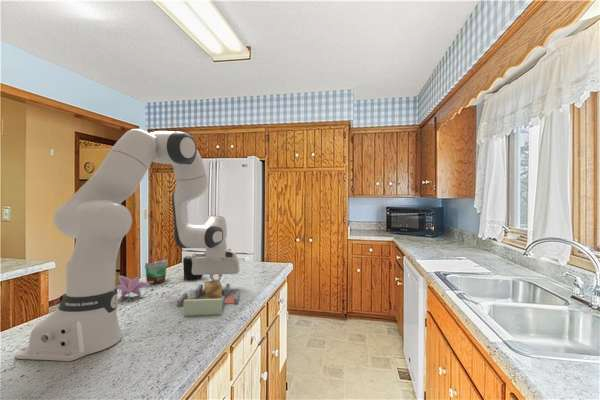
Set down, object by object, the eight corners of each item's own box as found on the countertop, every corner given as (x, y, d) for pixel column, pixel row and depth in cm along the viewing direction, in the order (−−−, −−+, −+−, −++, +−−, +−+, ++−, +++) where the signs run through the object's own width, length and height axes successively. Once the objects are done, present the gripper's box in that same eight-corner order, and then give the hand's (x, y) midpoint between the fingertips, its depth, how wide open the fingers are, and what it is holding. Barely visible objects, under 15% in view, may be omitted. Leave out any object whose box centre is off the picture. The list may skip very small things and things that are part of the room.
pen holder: (186, 275, 153) (186, 256, 153) (205, 275, 153) (205, 256, 153) (180, 280, 143) (180, 259, 143) (200, 280, 144) (200, 259, 144)
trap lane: (169, 316, 100) (169, 301, 100) (188, 292, 126) (188, 280, 126) (235, 313, 103) (235, 299, 103) (240, 290, 128) (240, 278, 128)
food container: (156, 286, 134) (156, 264, 134) (144, 285, 135) (144, 263, 135) (173, 279, 146) (173, 258, 146) (162, 278, 147) (162, 258, 147)
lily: (154, 299, 120) (153, 275, 124) (134, 296, 109) (133, 271, 113) (126, 307, 121) (126, 284, 125) (104, 305, 110) (104, 280, 114)
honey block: (206, 299, 117) (206, 286, 117) (204, 293, 125) (204, 281, 125) (221, 297, 120) (221, 285, 120) (219, 292, 127) (219, 280, 127)
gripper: (189, 254, 126) (189, 286, 126) (239, 253, 129) (238, 285, 129) (193, 251, 132) (193, 282, 132) (240, 251, 135) (239, 281, 135)
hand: (216, 284), depth 131 cm, fingers closed
